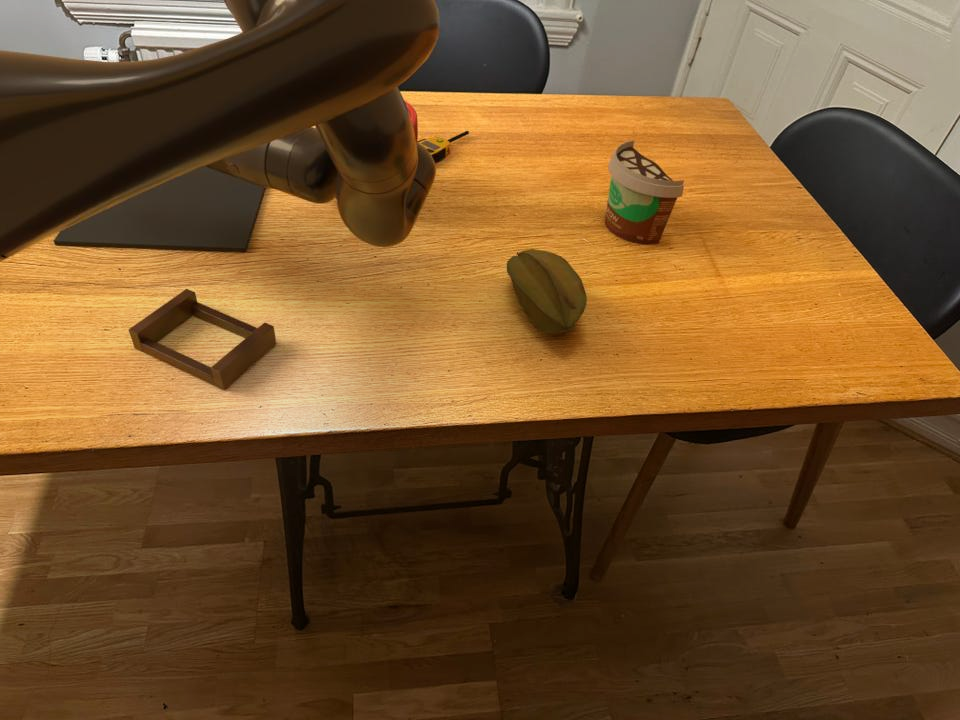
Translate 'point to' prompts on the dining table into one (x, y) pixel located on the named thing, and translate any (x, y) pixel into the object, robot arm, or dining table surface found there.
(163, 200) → the mat
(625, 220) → the food container
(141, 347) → the holder
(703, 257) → the dining table surface
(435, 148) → the walkie talkie
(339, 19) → the robot arm
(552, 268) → the fruit
